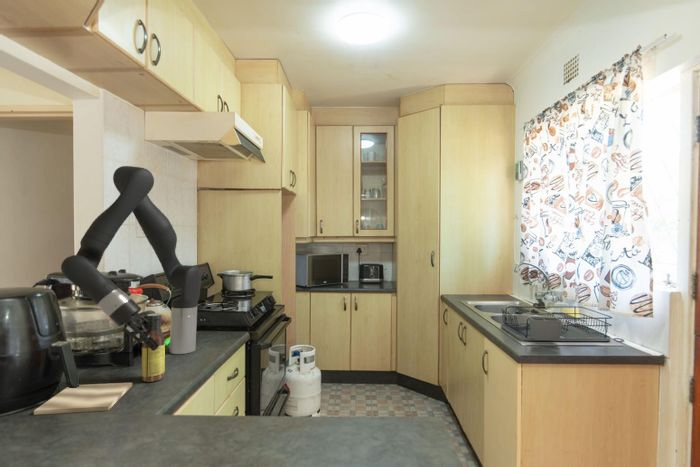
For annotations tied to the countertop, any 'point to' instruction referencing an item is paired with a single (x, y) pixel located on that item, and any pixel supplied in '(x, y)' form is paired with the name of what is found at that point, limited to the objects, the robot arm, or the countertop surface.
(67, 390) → the birch board
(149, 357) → the sauce bottle
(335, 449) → the countertop surface
